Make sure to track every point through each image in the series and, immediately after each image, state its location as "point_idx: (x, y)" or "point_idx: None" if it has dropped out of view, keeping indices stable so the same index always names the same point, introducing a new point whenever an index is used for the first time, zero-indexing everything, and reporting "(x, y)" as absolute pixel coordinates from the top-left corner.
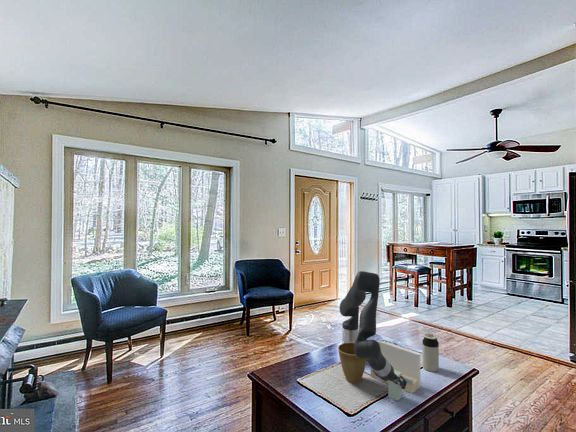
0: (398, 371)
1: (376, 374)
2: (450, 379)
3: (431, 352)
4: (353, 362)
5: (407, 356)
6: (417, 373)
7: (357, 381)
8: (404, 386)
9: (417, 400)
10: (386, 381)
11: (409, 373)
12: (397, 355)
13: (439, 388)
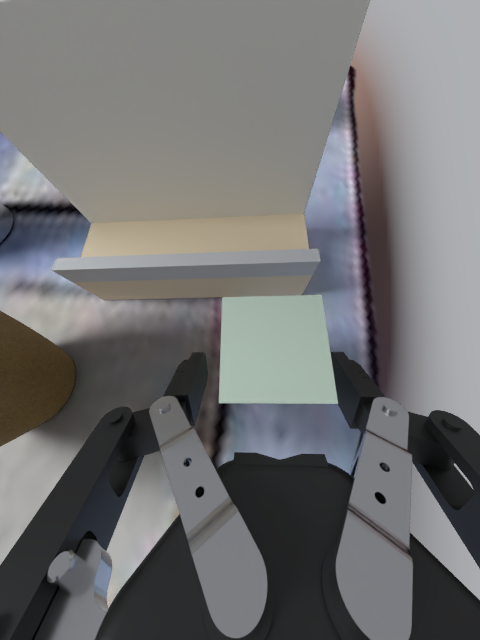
0: (283, 299)
1: (117, 494)
2: (339, 134)
3: None
4: None
5: (246, 69)
6: (307, 185)
7: (60, 404)
8: (459, 485)
9: (345, 324)
10: (207, 373)
11: (259, 203)
12: (161, 108)
13: (348, 197)
